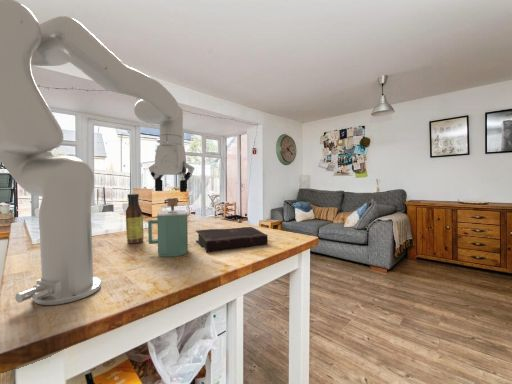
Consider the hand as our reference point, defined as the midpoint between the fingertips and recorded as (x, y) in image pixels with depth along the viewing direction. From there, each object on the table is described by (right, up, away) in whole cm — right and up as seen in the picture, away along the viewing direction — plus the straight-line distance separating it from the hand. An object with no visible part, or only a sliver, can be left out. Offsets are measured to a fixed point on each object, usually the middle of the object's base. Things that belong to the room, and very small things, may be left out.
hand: (170, 191), depth 87 cm
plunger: (0, -18, +2) cm, 18 cm away
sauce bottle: (-20, -21, +16) cm, 33 cm away
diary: (+19, -22, +16) cm, 33 cm away
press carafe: (-1, -22, +2) cm, 22 cm away
